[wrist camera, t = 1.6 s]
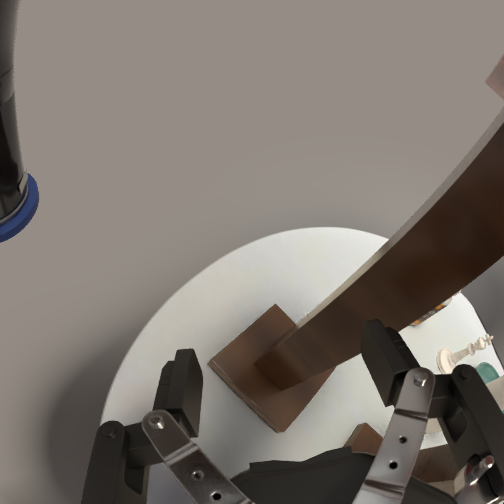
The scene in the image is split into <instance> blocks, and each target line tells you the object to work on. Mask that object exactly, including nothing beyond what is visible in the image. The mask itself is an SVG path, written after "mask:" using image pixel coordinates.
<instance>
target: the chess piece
mask: <svg viewBox="0 0 504 504" xmlns="http://www.w3.org/2000/svg"><path fill="white" fill-rule="evenodd" d="M485 336H486V340H484V338H483V337H480V338H479V339H478V340H477V341H476V342H475V343H474V344H472V343H469V344H468V346H467V349H464V350H462V351H459V352H457V353H452V352H451V351H450V350H449V349H447V348H444V349H441V350H440V351H439V352H438V355H437V363H438V367H439V369H440V371H441V372H442V374H451V373H452V371H453V369H454V368H455V367H456V362H458V361H459V360H461V359H462V358H463V357H465V356H466V355H468V354H470V355H471V356H473V355H474V354H475V351H476V350H482V349H485V347H486V342H488V345H490V344H492V343H491V339H493V336H491V337H489V334H487V335H485Z"/></svg>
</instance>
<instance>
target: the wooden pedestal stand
mask: <svg viewBox="0 0 504 504" xmlns="http://www.w3.org/2000/svg"><path fill="white" fill-rule="evenodd" d="M485 83H486V84H487V85H489V86H490V87H491V88H492V89H493V90H494V91H495V92H496V93H497V94H498V95H499V96H500V97H501V98H502V99H503V100H504V54H503V56H502V57H501V59H500V61H499V62H498V63H497V65H496V66H495V68H494V69H493V71H492V72H491V74H490V75H489V77H488V78H487V80H486V81H485ZM502 256H504V107H503V109H502V110H501V112H500V113H499V114H498V116H497V117H496V118H495V119H494V121H493V122H492V124H491V125H490V126H489V127H488V129H487V130H486V131H485V133H484V134H483V135H482V136H481V138H480V139H479V140H478V141H477V143H476V144H475V145H474V146H473V148H472V149H471V150H470V151H469V153H468V154H467V155H466V156H465V157H464V159H463V160H462V161H461V162H460V163H459V164H458V166H457V167H456V168H455V169H454V170H453V172H452V173H451V174H450V175H449V176H448V177H447V178H446V180H445V181H444V182H443V183H442V184H441V185H440V186H439V188H438V189H437V190H436V191H435V192H434V193H433V194H432V195H431V196H430V198H429V199H428V200H427V201H426V202H425V203H424V204H423V205H422V206H421V207H420V208H419V209H418V210H417V211H416V212H415V214H414V215H413V216H412V217H411V218H410V219H409V220H408V221H407V222H406V223H405V224H404V225H403V226H402V227H401V228H400V229H399V230H398V231H397V232H396V233H395V234H394V235H393V236H392V237H391V238H390V239H389V240H388V241H387V242H386V243H385V244H384V245H383V246H382V247H381V248H380V249H379V250H378V251H377V252H376V253H375V254H374V255H373V256H372V257H371V258H370V259H369V260H368V261H367V262H366V263H365V264H363V265H362V266H361V267H360V268H359V269H358V270H357V271H356V272H355V273H354V274H353V275H352V276H351V277H350V278H348V279H347V280H346V281H345V282H344V283H343V284H342V285H341V286H340V287H339V288H338V289H336V290H335V291H334V292H333V293H332V294H331V295H330V296H329V297H327V298H326V299H325V300H324V301H323V302H322V303H321V304H319V305H318V306H317V307H316V308H315V309H314V310H313V311H311V312H310V313H309V314H308V315H307V316H306V317H304V318H303V319H302V320H301V321H300V322H298V323H297V324H295V323H294V322H293V321H292V320H291V319H290V318H289V317H288V316H287V315H286V314H285V313H284V312H283V311H282V310H281V309H280V308H279V307H278V305H277V304H274V305H273V306H272V307H271V308H270V309H269V310H268V311H266V312H265V313H264V314H263V315H262V316H261V317H260V318H259V319H257V320H256V321H255V322H254V323H253V324H252V325H251V326H249V327H248V328H247V329H246V330H245V331H244V332H243V333H241V334H240V335H239V336H238V337H237V338H236V339H234V340H233V341H232V342H231V343H230V344H229V345H227V346H226V347H225V348H224V349H223V350H222V351H220V352H219V353H218V354H217V355H216V356H214V357H213V358H212V359H211V360H210V361H209V362H208V364H209V365H210V366H211V368H212V369H213V370H214V371H215V372H216V373H217V374H218V375H219V376H220V377H221V378H222V379H223V380H224V381H225V382H226V383H227V384H228V385H229V386H230V387H231V388H232V390H233V391H234V392H235V393H236V394H237V395H238V396H239V397H240V398H241V399H242V400H243V401H244V402H245V403H246V404H247V405H249V406H250V407H251V408H252V409H253V410H254V411H255V412H256V413H257V414H258V415H259V416H260V417H261V418H262V419H263V420H264V421H265V422H266V423H267V424H268V425H270V426H271V427H272V428H273V429H274V430H275V431H276V432H277V433H280V432H284V431H285V430H286V429H287V428H288V427H289V426H290V425H291V423H292V422H293V421H294V420H295V419H296V418H297V416H298V415H299V414H300V413H301V412H302V410H303V409H304V408H305V407H306V405H307V404H308V403H309V402H310V400H311V399H312V398H313V397H314V395H315V394H316V393H317V392H318V390H319V389H320V388H321V386H322V385H323V384H324V383H325V381H326V380H327V379H328V377H329V376H330V375H331V373H332V372H333V371H334V369H335V368H336V366H337V365H339V364H341V363H343V362H345V361H347V360H349V359H351V358H353V357H355V356H357V355H359V354H360V353H361V348H360V346H361V335H362V325H363V322H366V321H370V320H374V319H379V320H380V321H381V322H382V324H383V326H384V327H385V328H386V327H391V328H393V329H394V330H396V331H397V332H399V331H400V330H402V329H404V328H405V327H407V326H409V325H410V324H412V323H413V322H415V321H416V320H418V319H420V318H421V317H423V316H424V315H426V314H427V313H429V312H430V311H432V310H433V309H435V308H436V307H438V306H439V305H440V304H442V303H443V302H445V301H446V300H448V299H449V298H450V297H452V296H453V295H455V294H456V293H457V292H459V291H460V290H461V289H463V288H464V287H465V286H467V285H468V284H469V283H471V282H472V281H473V280H474V279H476V278H477V277H478V276H479V275H481V274H482V273H483V272H485V271H486V270H487V269H488V268H489V267H491V266H492V265H493V264H494V263H495V262H497V261H498V260H499V259H500V258H501V257H502Z"/></svg>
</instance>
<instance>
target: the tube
mask: <svg viewBox="0 0 504 504" xmlns="http://www.w3.org/2000/svg"><path fill="white" fill-rule="evenodd" d="M486 386H487V387H488V389H489V391H490V392H491V394H492V395H493V397H494V399H495V400H496V402H497V404H498V405H499V407H500V409H501V411H502V410H504V375H503V376H501V377H499V378H497V379H495V380H493V381H491V382H489V383H487V384H486ZM439 431H442V429H441V427H440V425H439V422H438V420H437V418H432V419H428V423H427V427H426V431H425V433H427V434H431V433H435V432H439Z"/></svg>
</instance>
